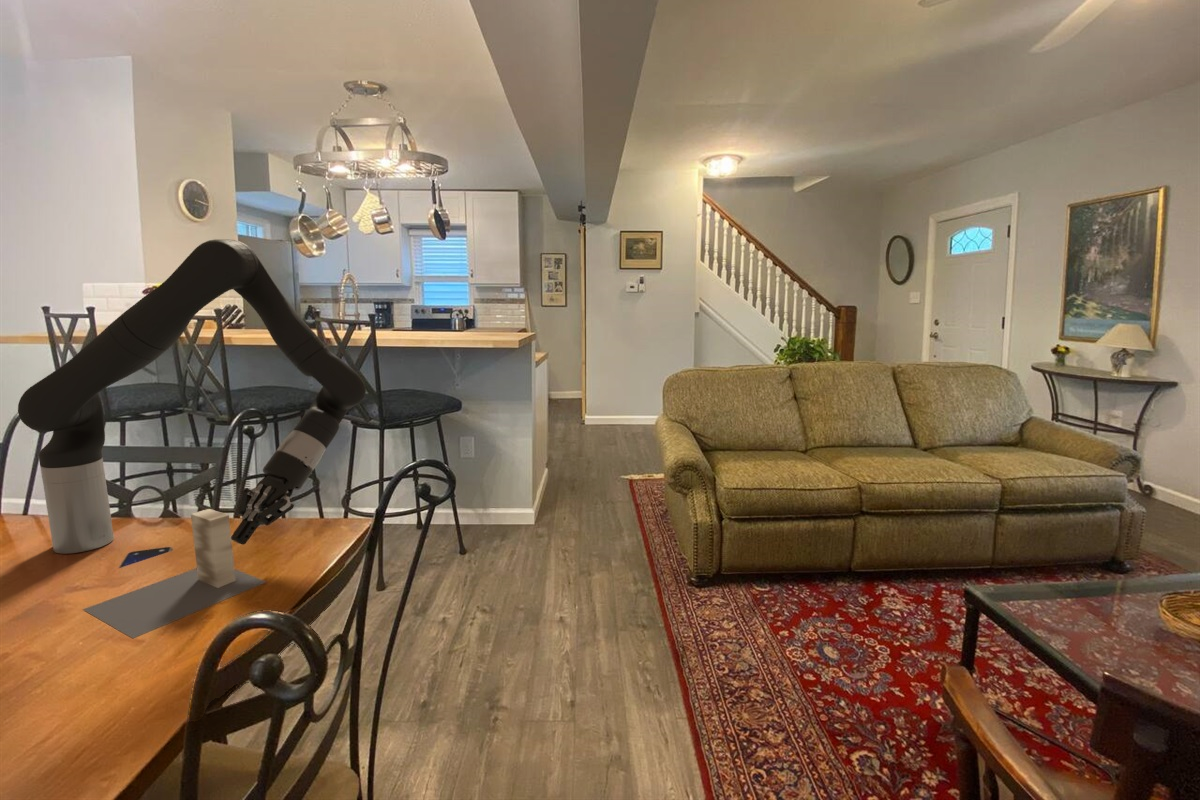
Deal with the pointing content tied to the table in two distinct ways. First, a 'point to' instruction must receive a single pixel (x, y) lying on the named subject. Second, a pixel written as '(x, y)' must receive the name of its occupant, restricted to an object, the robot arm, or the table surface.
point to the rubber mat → (166, 602)
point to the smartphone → (143, 555)
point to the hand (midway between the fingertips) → (237, 542)
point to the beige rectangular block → (213, 547)
